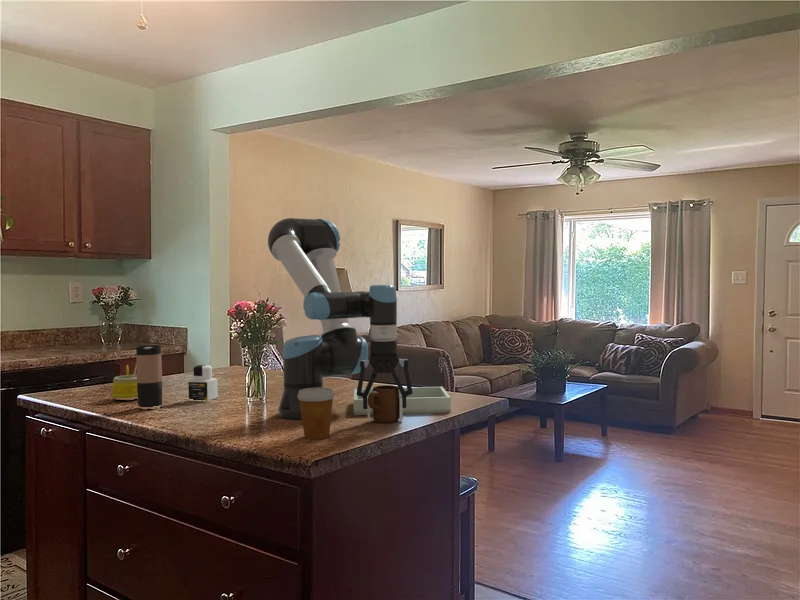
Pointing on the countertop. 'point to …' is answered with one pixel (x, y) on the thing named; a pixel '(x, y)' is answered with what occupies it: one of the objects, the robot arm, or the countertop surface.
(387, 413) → the mug
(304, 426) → the disposable coffee cup
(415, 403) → the box
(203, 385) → the medicine bottle
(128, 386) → the yellow birthday cake
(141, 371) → the travel mug
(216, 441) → the countertop surface
